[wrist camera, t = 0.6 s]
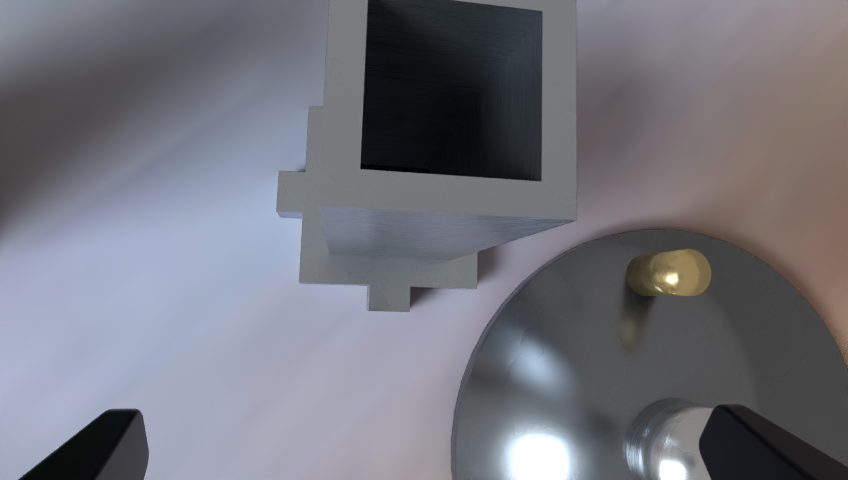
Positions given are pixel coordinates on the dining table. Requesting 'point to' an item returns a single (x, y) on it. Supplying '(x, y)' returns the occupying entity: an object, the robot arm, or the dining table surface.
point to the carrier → (643, 363)
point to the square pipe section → (435, 141)
